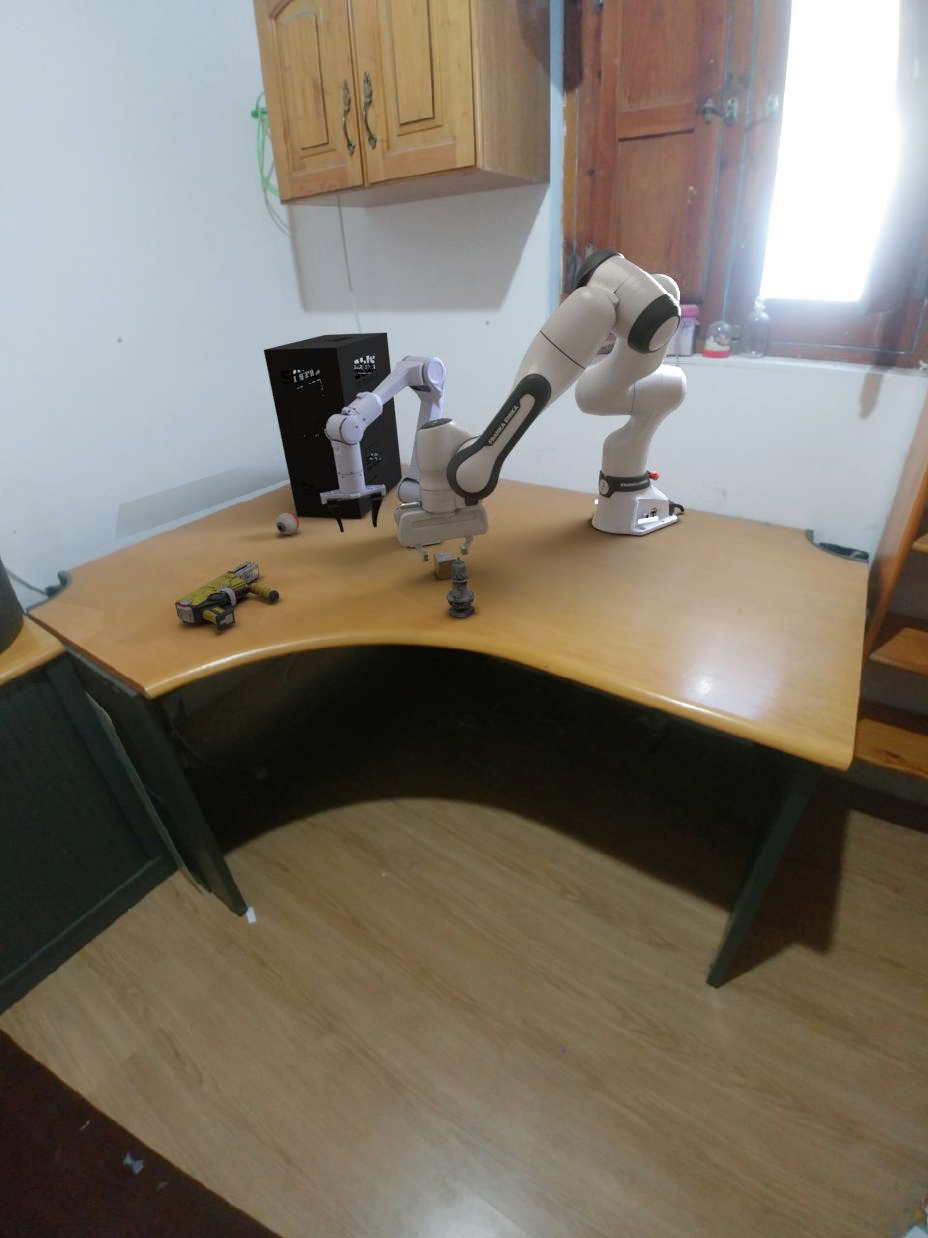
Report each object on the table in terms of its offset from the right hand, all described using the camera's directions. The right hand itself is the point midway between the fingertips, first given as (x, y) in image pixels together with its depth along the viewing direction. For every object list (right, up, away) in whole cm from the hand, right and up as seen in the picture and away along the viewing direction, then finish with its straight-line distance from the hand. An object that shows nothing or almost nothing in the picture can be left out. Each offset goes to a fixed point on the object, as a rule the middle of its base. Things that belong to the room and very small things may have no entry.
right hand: (444, 557), depth 136 cm
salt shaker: (+4, -12, -13) cm, 18 cm away
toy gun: (-44, -11, -5) cm, 45 cm away
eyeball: (-44, +9, +29) cm, 53 cm away
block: (0, -4, +3) cm, 5 cm away
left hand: (-20, +7, +5) cm, 22 cm away
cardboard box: (-31, +25, +55) cm, 68 cm away
